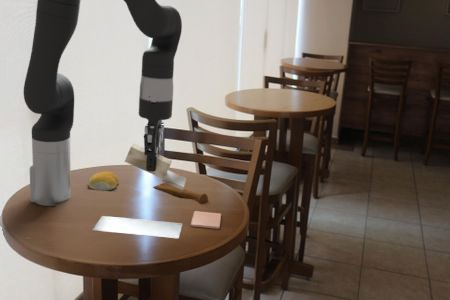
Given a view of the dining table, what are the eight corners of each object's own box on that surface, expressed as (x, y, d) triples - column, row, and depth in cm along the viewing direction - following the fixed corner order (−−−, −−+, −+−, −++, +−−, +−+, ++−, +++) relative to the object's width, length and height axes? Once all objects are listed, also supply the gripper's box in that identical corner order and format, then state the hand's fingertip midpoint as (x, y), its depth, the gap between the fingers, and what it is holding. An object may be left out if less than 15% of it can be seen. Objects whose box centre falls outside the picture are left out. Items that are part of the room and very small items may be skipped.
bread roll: (120, 181, 142) (120, 169, 141) (114, 192, 133) (114, 179, 132) (92, 179, 141) (92, 167, 140) (85, 190, 133) (85, 177, 132)
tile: (190, 224, 114) (219, 226, 114) (194, 211, 121) (221, 213, 121) (190, 231, 114) (218, 234, 114) (193, 218, 122) (220, 220, 122)
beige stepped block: (123, 163, 107) (129, 148, 106) (128, 155, 113) (134, 141, 112) (182, 190, 109) (189, 175, 108) (185, 181, 115) (191, 167, 114)
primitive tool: (152, 188, 139) (152, 177, 138) (165, 184, 143) (165, 173, 142) (200, 208, 128) (201, 196, 127) (213, 203, 132) (214, 192, 131)
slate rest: (92, 234, 108) (92, 230, 107) (102, 219, 115) (102, 215, 115) (178, 242, 107) (178, 238, 107) (182, 227, 115) (182, 223, 115)
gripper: (145, 90, 112) (142, 158, 117) (133, 100, 99) (130, 176, 104) (176, 93, 113) (171, 160, 117) (168, 104, 99) (163, 180, 104)
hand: (152, 168), depth 111 cm, fingers closed on beige stepped block, 3 cm apart
